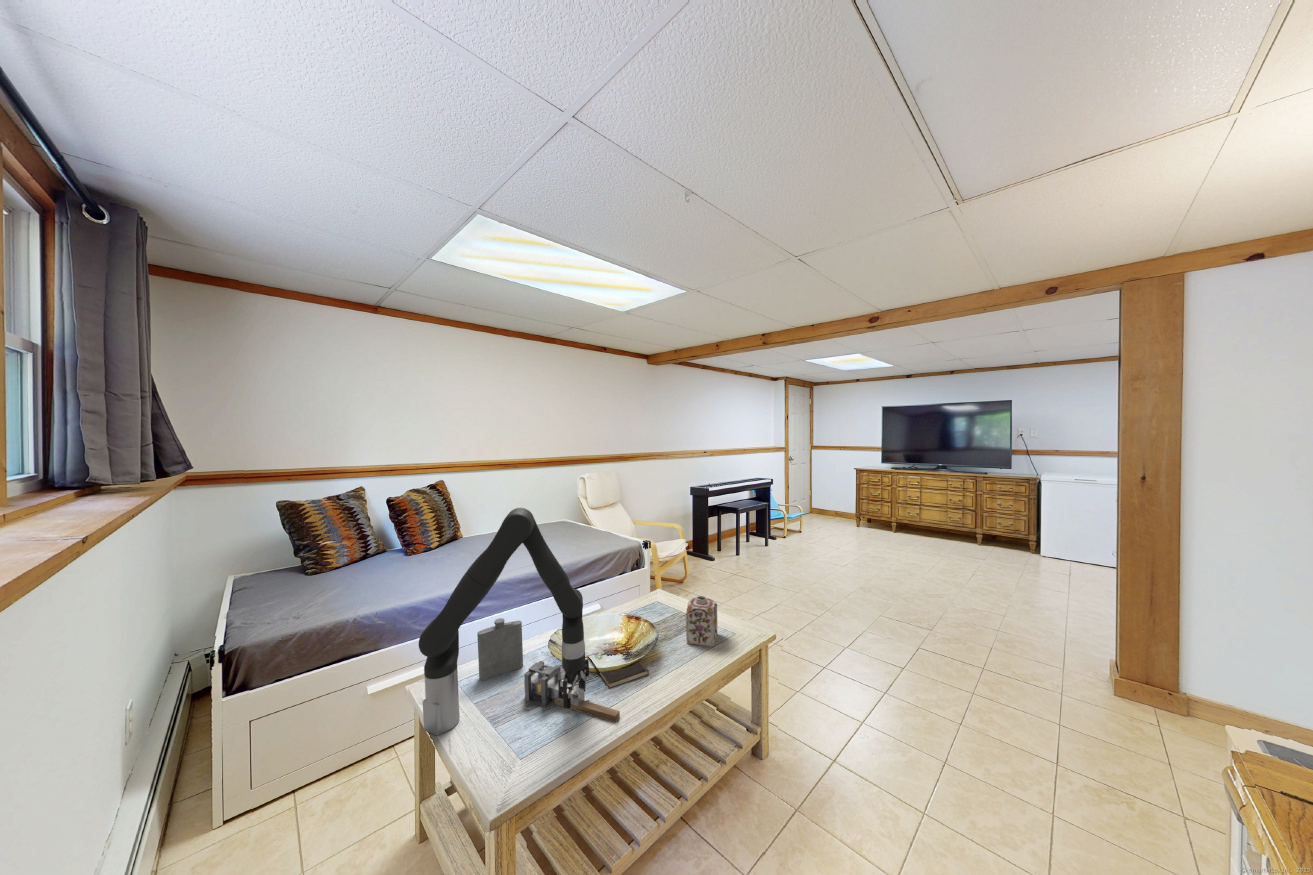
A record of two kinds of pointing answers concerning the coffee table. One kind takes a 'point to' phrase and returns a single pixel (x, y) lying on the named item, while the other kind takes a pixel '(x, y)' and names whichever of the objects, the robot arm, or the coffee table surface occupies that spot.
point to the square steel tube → (556, 690)
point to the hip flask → (500, 648)
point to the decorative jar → (701, 621)
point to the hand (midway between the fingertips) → (575, 699)
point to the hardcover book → (624, 674)
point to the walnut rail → (594, 710)
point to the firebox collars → (546, 675)
